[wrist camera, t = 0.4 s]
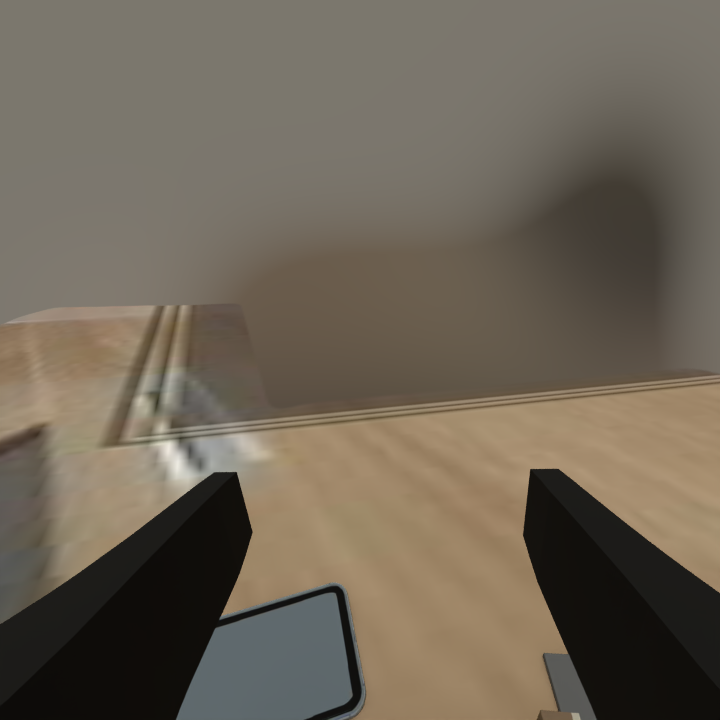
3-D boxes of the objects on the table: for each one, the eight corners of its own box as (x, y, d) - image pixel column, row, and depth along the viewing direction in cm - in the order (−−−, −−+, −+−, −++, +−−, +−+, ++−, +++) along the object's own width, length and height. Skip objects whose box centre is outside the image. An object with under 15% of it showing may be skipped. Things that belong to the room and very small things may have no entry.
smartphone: (369, 711, 19) (76, 818, 17) (370, 716, 20) (86, 822, 18) (344, 577, 26) (127, 643, 23) (345, 584, 26) (133, 649, 24)
